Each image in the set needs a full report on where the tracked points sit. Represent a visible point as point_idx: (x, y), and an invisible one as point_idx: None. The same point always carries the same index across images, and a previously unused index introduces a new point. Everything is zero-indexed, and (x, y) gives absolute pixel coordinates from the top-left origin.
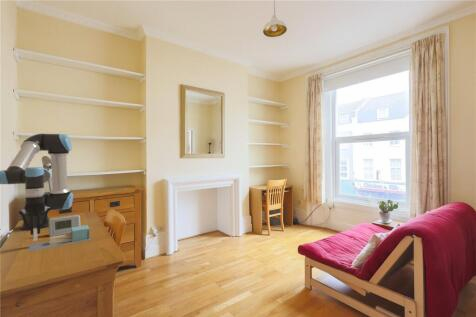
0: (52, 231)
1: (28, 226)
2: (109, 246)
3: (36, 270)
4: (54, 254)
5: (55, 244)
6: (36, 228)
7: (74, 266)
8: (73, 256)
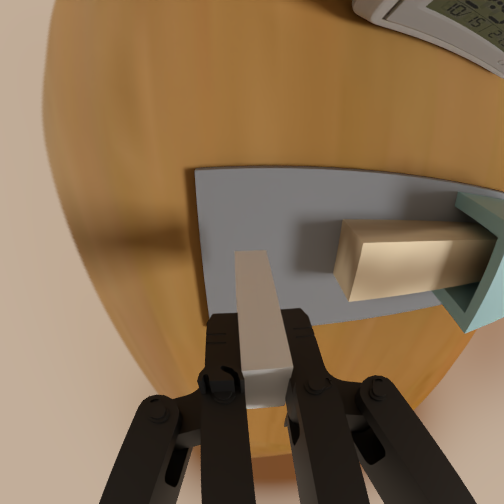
0: (399, 2)
1: (189, 449)
2: (443, 369)
3: (258, 439)
4: None
5: None
6: (277, 405)
7: None
8: None
